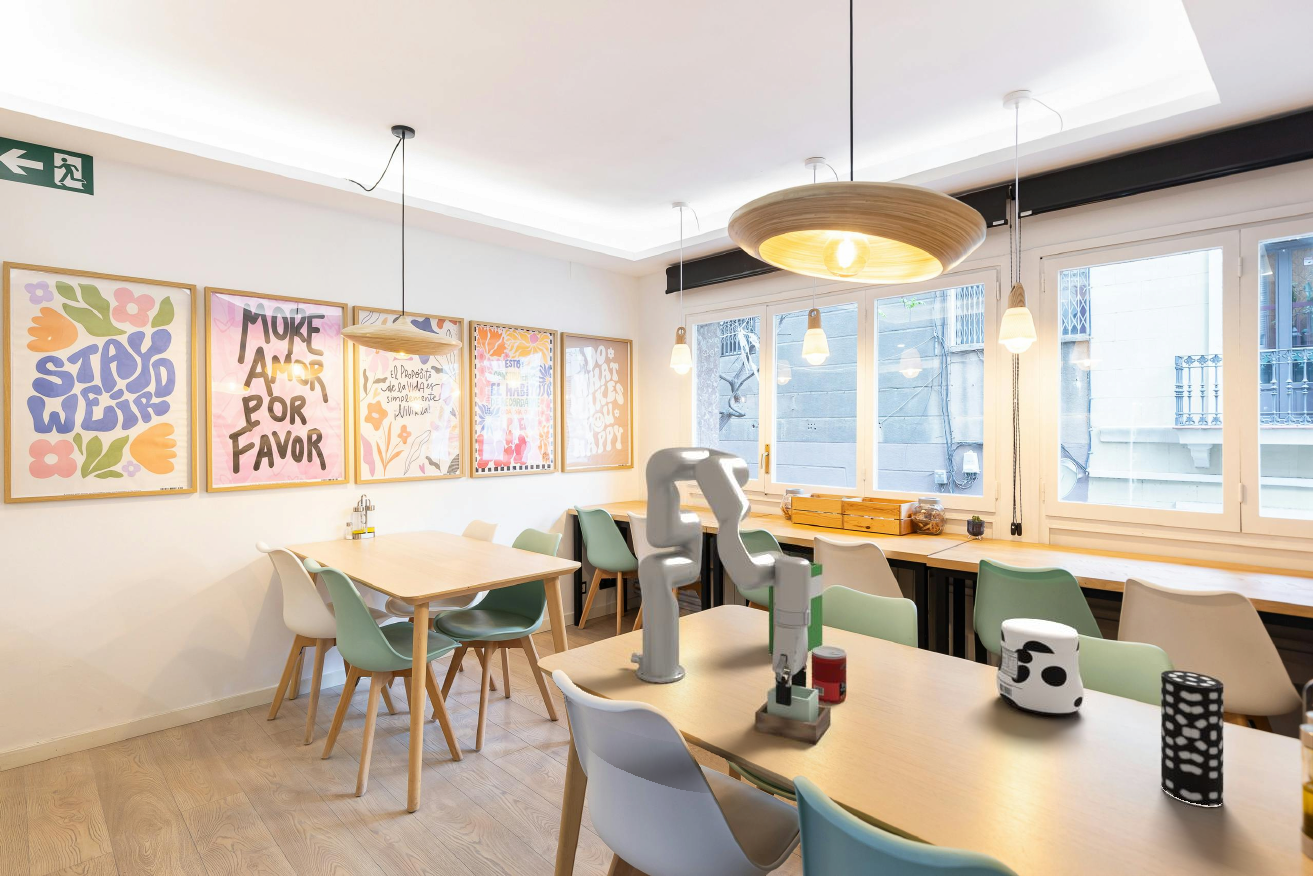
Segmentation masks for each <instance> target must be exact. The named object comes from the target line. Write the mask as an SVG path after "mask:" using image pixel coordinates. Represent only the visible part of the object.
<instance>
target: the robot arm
mask: <svg viewBox="0 0 1313 876" xmlns="http://www.w3.org/2000/svg"><path fill="white" fill-rule="evenodd" d="M749 479H750V471H749V467H748V465H747V463H746V462H745V460H744V459H743V458H742V457H740V456H738V455H737V454H733V453H729V452H724V451H720V450H716V449H713V448H708V447H703V446H702V447H701V446H700V447H699V446H698V447H697V446H696V447H690V446H689V447H685V446H684V447H683V446H682V447H681V446H680V447H679V446H678V447H677V446H676V447H667V448H666V447H665V448H663V449H660V450H657V451H655V452H654V453H653V454H652V455H651V456H650V457H649V459H648V461H647V463H646V467H645V480H646V481H645V482H646V492H647V501H646V502H647V503H646V523H645V524H646V525H645V536H646V537H645V538H646V541H647V543H648V545H650V546H651V547H653V548H654V549H667V548H669V549H670V548H674V550H667V551H662V552H661V551H660V552H656V553H651V554H649V555H647V556H645V557H644V558H643V559H642V560H641V561H640V563H639V565H638V568H637V569H638V570H637V575H638V580H639V586H640V590H641V591H640V593H641V607H642V608H641V609H642V610H641V611H642V612H641V613H642V614H641V615H642V619H641V620H642V654H641V653H639V652H632V654H631V658H630V662H631V663H633V664H637V665H638V667H637V669H636V677H638V678H639V679H640V678H641V679H640V680H642V679H643V680H642V681H645V680H646V681H645V682H648V681H651V682H650V683H654V682H658V683H659V684H661V683H662V684H665V682H667V683H673V682H676V681H679V680H681V679H683V678H684V677H685V676H686V670H685V669H686V668H684V666H682V665H680V610H679V609H680V606H679V602H678V599H677V597H676V596H675V594H674V592H673V589H674V588H679V587H683V586H688V585H691V584H693V583H695V582H696V581H697V580H698V578H699V576H700V573H701V568H702V557H703V556H702V554H703V552H702V550H703V537H704V536H703V525H702V522H701V519H700V517H699V516H698V514H697V513H696V512H695V511H693V510H691V509H686V508H681V506H680V505H681V494H680V492H679V489H678V486H677V484H676V483H675V482H686V481H687V482H688V481H690V482H691V481H695V482H696V483H697V485H698V487H699V489H700V491H701V493H702V495H703V497H704V498H705V500H706V502H707V504H708V506H709V508H710V510H711V512H712V514H713V515H714V517H715V519H716V520H717V524H718V526H717V527H718V528H717V533H716V547H717V554H718V556H719V559H720V561H721V563H722V565H723V567H724V569H725V570H726V573H727V574H728V576H729V578H730V579H731V581H732V582H733V583H734V584H735V585H736V586H737V587H738V588H739V589H742V590H743V591H753V590H754V591H755V590H758V589H762V588H766V587H767V588H768V587H769V586H773V585H775V613H774V622H775V624H777V625H776V628H775V635H774V645H773V655H772V664H771V666H772V667H771V668H772V671H773V672H774V674H775V677H774V680H775V684H774V685H776V703H777V704H781V705H786V706H790V705H791V697H792V686H790V685H795V686H800V687H805V688H807V667H808V666H807V662H808V655H809V652H808V631H807V627H808V626H810V610H811V565H810V563H809V562H810V561H809V560H808V559H806V558H803V557H799V556H798V557H797V556H789V555H787V554H785V553H782V552H781V551H777V550H766V551H760V552H753V553H748V551H747V549H746V547H745V545H744V543H743V541H742V538H741V536H740V525H741V523H742V522H743V521H744V520H746V518H747V517H748V516H749V515H750V513H751V511H752V504H751V503H750V502H749V500H748V498H747V497H746V495H745V493H744V491H743V489H742V488H743V487H745V486H746V485H747V484H748V482H749ZM786 676H787V677H786Z"/></svg>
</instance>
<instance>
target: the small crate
mask: <svg viewBox="0 0 1313 876" xmlns="http://www.w3.org/2000/svg"><path fill="white" fill-rule="evenodd" d="M790 686H792V697H791V705H790V706H786V705H781V704H777V703H776V684H774V686H772V687H771V688H769V690H767V692H766V693H767V694H766V695H767V696H766V697H767V701H766V702H767V714H772V715H776V716H781V717H785V718H790V719H794V720H799V721H804V722H808V723H814V722H815V721H816V720H817V718H818V705H819V701H818V690H816V689H812V687H811V688H810V687H806V688H805V687H800V686H795V685H791V684H790Z"/></svg>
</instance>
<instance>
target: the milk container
mask: <svg viewBox="0 0 1313 876" xmlns="http://www.w3.org/2000/svg"><path fill="white" fill-rule="evenodd" d="M1000 637H1001V638H1000V662H999V665H998V668H997V671H996V677H995V678H996V679H995V680H996V686H997V692H998V694H999V696H1000V697H1001V698H1002V699H1003V700H1004V701H1005V702H1006V703H1007V704H1009V705H1011V706H1013V707H1015V708H1018V709H1020V710H1023V711H1026V712H1030V713H1035V714H1039V715H1045V716H1047V715H1048V716H1067V715H1072V714H1074V713H1077V712H1078V711H1080V709H1081V708H1082V706H1083V702H1084V697H1085V690H1084V685H1083V681H1082V677H1081V675H1080V668H1079V667H1080V665H1079V664H1080V640H1079V639H1080V638H1079V634H1078V632H1077V629H1075V628H1073V627H1072V626H1069V625H1066V624H1063V623H1061V622H1060V623H1058V622H1055V621H1049V620H1043V619H1037V618H1036V619H1035V618H1034V619H1033V618H1011V619H1006V620H1004V621H1002V623H1001V628H1000Z"/></svg>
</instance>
